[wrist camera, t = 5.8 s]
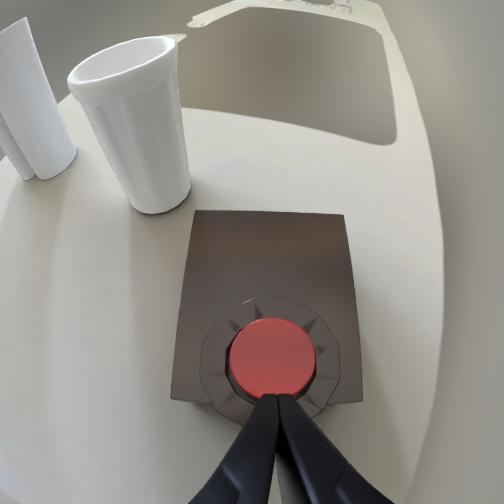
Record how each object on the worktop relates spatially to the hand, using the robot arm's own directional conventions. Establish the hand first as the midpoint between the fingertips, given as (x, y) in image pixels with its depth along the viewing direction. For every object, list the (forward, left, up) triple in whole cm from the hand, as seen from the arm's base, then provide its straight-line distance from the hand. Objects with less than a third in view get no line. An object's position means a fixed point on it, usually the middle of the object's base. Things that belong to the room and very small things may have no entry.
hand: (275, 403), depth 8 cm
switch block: (+4, +5, -11) cm, 13 cm away
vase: (-8, +38, -11) cm, 40 cm away
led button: (+1, +2, -5) cm, 5 cm away
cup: (+3, +21, -11) cm, 24 cm away
